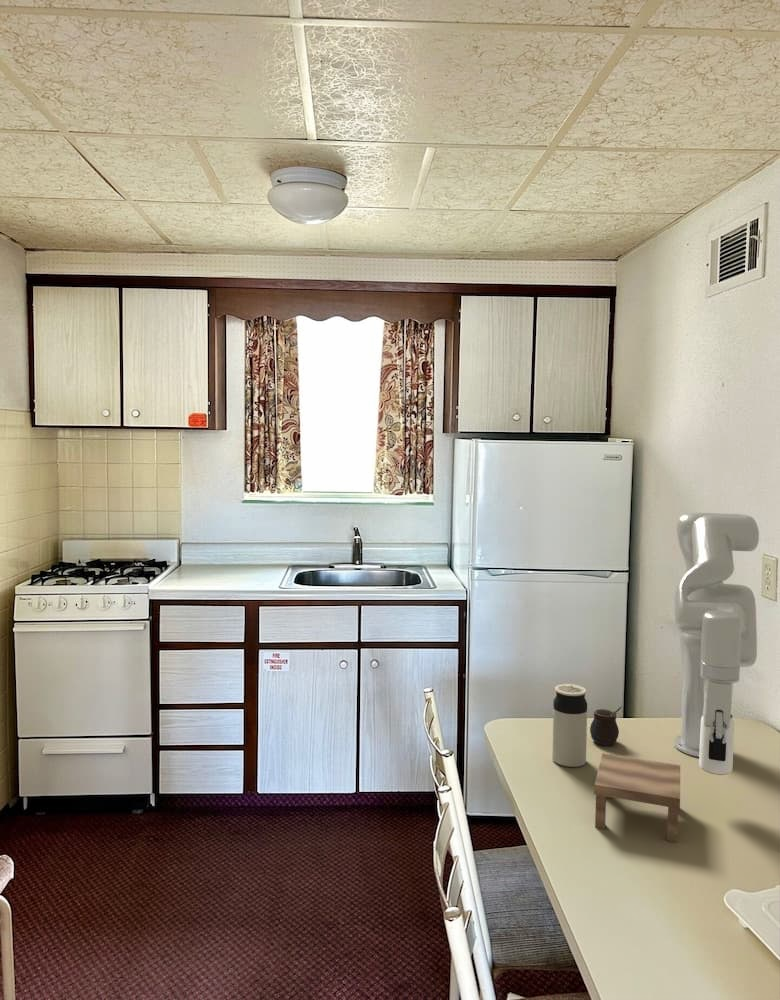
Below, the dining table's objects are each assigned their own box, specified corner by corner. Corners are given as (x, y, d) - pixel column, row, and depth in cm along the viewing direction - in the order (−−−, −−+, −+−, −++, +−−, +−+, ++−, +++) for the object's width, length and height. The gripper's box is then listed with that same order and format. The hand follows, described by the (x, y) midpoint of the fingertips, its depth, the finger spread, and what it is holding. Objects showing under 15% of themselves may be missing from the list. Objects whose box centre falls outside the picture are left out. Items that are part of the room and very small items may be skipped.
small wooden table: (601, 792, 163) (602, 753, 163) (678, 805, 157) (680, 765, 157) (593, 827, 148) (594, 784, 148) (678, 843, 143) (680, 798, 142)
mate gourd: (587, 735, 195) (589, 699, 194) (617, 738, 194) (618, 700, 193) (591, 746, 188) (592, 708, 187) (621, 749, 187) (623, 710, 186)
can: (735, 777, 152) (738, 721, 151) (702, 774, 154) (704, 719, 152) (728, 762, 159) (730, 709, 157) (696, 760, 160) (698, 707, 159)
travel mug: (580, 771, 174) (581, 696, 173) (547, 763, 178) (549, 690, 177) (590, 758, 181) (591, 687, 179) (558, 751, 185) (560, 681, 184)
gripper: (699, 655, 163) (696, 733, 165) (701, 682, 147) (697, 767, 149) (736, 659, 160) (733, 738, 162) (742, 687, 144) (738, 774, 146)
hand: (716, 751), depth 156 cm, fingers closed on can, 6 cm apart
